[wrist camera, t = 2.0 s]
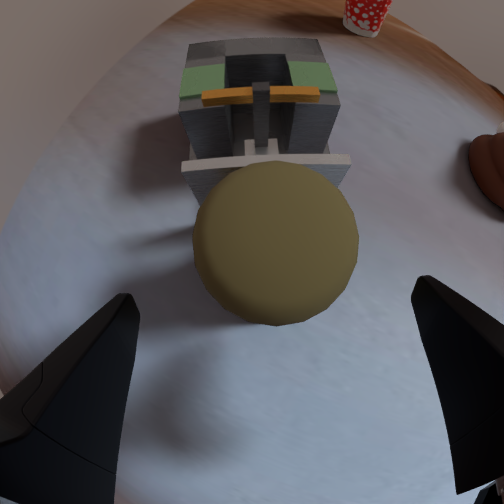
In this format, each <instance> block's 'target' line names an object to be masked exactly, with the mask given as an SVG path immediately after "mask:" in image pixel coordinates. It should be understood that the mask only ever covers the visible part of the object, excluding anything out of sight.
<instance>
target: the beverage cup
mask: <svg viewBox="0 0 504 504" xmlns="http://www.w3.org/2000/svg"><path fill="white" fill-rule="evenodd" d="M392 1H393V0H346V4H345V10H344V17H343V25H344V26H345V27H346V28H347V29H348V30H350V31H351V32H353V33H356V34H358V35H361V36H365V37H376V36H377V34H378V32H379V30H380V28H381V26H382V23H383V21H384V19H385V17H386V15H387V12H388V10H389V8H390V6H391V3H392Z"/></svg>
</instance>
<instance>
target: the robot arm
mask: <svg viewBox="0 0 504 504" xmlns="http://www.w3.org/2000/svg"><path fill="white" fill-rule="evenodd" d="M411 303H412V307H413V310H414V314H415V317H416V321H417V325H418V329H419V333H420V336H421V340H422V343H423V346H424V349H425V352H426V355H427V358H428V361H429V365H430V368H431V371H432V374H433V378H434V381H435V384H436V388H437V392H438V395H439V399H440V403H441V407H442V411H443V415H444V419H445V424H446V429H447V433H448V438H449V444H450V450H451V456H452V462H453V470H454V478H455V487H456V494H457V495H458V494H461V493H464V492H467V491H469V490H472V489H475V488H477V487H480V486H482V485H484V484H487V483H489V482H491V481H493V480H495V481H494V482H492V483H491V484H489V485H488V486H486V487H485V488H483V489H482V490H480V492H479V494H478V496H477V498H476V500H475V502H474V504H504V325H503V324H502V323H500V322H499V321H497V320H496V319H495V318H493V317H492V316H490V315H489V314H488V313H486V312H485V311H483V310H482V309H481V308H479V307H478V306H476V305H475V304H473V303H472V302H470V301H469V300H467V299H466V298H464V297H463V296H461V295H460V294H458V293H457V292H455V291H454V290H452V289H451V288H449V287H448V286H446V285H445V284H443V283H442V282H440V281H438V280H437V279H435V278H434V277H432V276H430V275H425V276H420V277H419V278H418V279H417V281H416V284H415V287H414V289H413V292H412V295H411ZM139 323H140V313H139V310H138V308H137V306H136V303H135V301H134V299H133V296H132V295H131V294H129V293H119V294H117V295H116V296H115V297H114V298H112V299H111V300H110V301H109V302H108V303H107V304H105V305H104V306H103V307H102V308H101V309H100V310H98V311H97V312H96V313H95V314H94V315H93V316H92V317H90V318H89V319H88V320H87V321H86V322H85V323H84V324H82V325H81V326H80V327H79V328H78V329H77V330H76V331H75V332H74V333H72V334H71V335H70V336H69V337H68V338H67V339H66V340H65V341H64V342H63V343H61V344H60V345H59V346H58V347H57V348H56V349H55V350H54V351H53V352H52V353H51V354H50V355H49V356H47V357H46V358H45V359H44V361H43V362H41V363H40V364H39V365H38V366H37V367H36V368H35V369H34V370H33V371H32V372H31V373H30V374H28V375H27V376H26V377H25V378H24V379H23V380H22V381H21V382H20V383H18V384H17V385H16V386H15V387H14V388H13V389H12V390H10V391H9V392H8V393H7V394H6V395H4V396H3V397H2V398H1V399H0V504H114V495H115V482H116V470H117V461H118V453H119V445H120V438H121V431H122V425H123V419H124V413H125V407H126V402H127V396H128V391H129V386H130V381H131V376H132V372H133V367H134V362H135V355H136V346H137V338H138V330H139Z"/></svg>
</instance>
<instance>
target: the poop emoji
mask: <svg viewBox="0 0 504 504" xmlns="http://www.w3.org/2000/svg"><path fill="white" fill-rule="evenodd" d="M469 163H470V168H471V171H472V174H473V176H474V178H475V181H476V182H477V184H478V186H479V187H480V189H481V190H482V192H483V193H484V194H485V195H486V196H487V197H488V198H489V199H490V200H491V201H492V202H494V203H495V204H497V205H498V206H500V207H501V208H502V209H503V211H504V122H502V123H501V124H500V125H499V126H498V128H497V134H495V135H481V136H478V137H476V138H475V139H474V140H473V141H472V143H471V145H470V148H469Z"/></svg>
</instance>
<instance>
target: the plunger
mask: <svg viewBox="0 0 504 504" xmlns="http://www.w3.org/2000/svg"><path fill="white" fill-rule="evenodd" d="M319 99H320V92H319V88H318V87H312V86H270V85H269V82H252V87H239V88H226V89H215V90H206V91H202V98H201V100H202V103H203V107H210V106H220V105H231V104H246V103H253V120H254V139H252V140H244V141H245V156H234V157H221V158H210V159H199V160H190V161H182V167H181V172H182V174H183V176H184V178H185V180H186V181H187V183H188V185H189V187H190V189H191V190H192V192H193V194H194V196H195V198H196V199H197V201H198V203H199V205H200V207H201V205H202V203H203V202H204V200H205V198H206V197H207V195H208V194H209V192H210V190H211V189H212V188H213V187H214V186H215V185H217V184H218V183H219V182H220V181H221V180H222V179H223V178H225V177H226V176H227V175H228V174H229V173H231V172H234V171H236V170H238V169H240V168H242V167H245V166H247V165H249V164H252V163H259V162H266V161H275V160H277V161H284V162H290V163H296V164H301V165H303V166H305V167H307V168H309V169H311V170H313V171H316V172H318V173H320V174H322V175H323V176H324V177H325V178H326V179H328V180H329V181H330V182H331V183H332V184H333V185H334V186H335V187H336V188H338V186H339V185H340V183H341V181H342V180H343V178H344V176H345V175H346V173H347V171H348V170H349V168H350V166H351V165H352V164H351V160H350V156H349V154H279V152H278V143H277V139H268V135H269V109H270V102H308V103H319Z"/></svg>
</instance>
